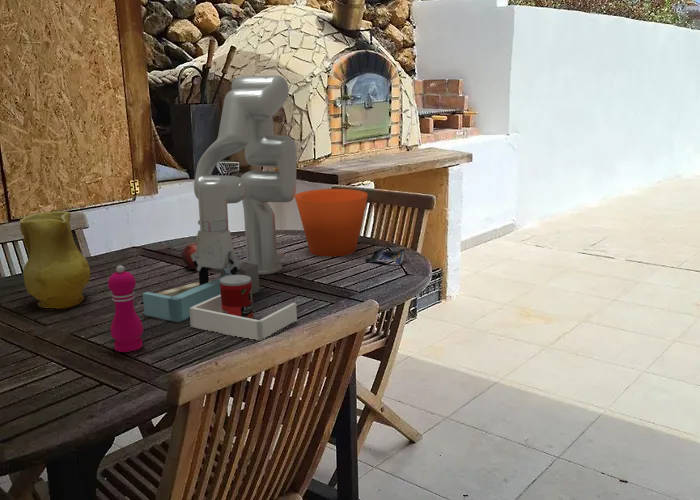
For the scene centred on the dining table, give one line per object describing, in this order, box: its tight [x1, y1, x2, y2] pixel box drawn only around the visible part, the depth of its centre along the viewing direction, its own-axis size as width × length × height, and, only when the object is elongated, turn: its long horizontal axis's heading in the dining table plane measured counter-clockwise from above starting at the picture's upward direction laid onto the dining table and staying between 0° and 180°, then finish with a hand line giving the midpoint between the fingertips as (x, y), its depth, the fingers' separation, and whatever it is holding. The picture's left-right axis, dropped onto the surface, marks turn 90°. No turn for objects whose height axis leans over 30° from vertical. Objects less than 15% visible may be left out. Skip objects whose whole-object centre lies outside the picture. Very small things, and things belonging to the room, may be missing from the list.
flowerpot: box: [294, 188, 369, 258], centre depth 243 cm, size 25×25×20 cm
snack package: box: [364, 247, 405, 266], centre depth 230 cm, size 12×6×12 cm
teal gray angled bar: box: [142, 261, 260, 323], centre depth 193 cm, size 30×15×8 cm, turn 150°
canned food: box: [220, 275, 254, 319], centre depth 179 cm, size 8×8×11 cm
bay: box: [189, 294, 298, 340], centre depth 176 cm, size 15×22×5 cm
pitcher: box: [19, 210, 91, 310], centre depth 194 cm, size 17×19×25 cm
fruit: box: [181, 242, 197, 271], centre depth 226 cm, size 9×10×10 cm
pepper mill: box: [107, 265, 144, 353], centre depth 161 cm, size 7×7×20 cm
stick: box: [156, 280, 211, 297], centre depth 200 cm, size 18×3×3 cm, turn 135°
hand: (217, 286), depth 193 cm, fingers open, 9 cm apart
